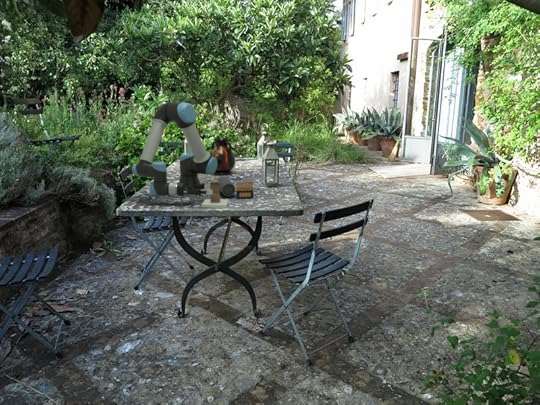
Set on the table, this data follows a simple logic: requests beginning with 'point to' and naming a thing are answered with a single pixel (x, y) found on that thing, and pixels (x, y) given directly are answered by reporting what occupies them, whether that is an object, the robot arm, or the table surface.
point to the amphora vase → (223, 156)
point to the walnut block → (215, 191)
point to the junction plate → (208, 203)
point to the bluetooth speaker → (226, 186)
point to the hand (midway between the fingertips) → (214, 189)
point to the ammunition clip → (244, 190)
